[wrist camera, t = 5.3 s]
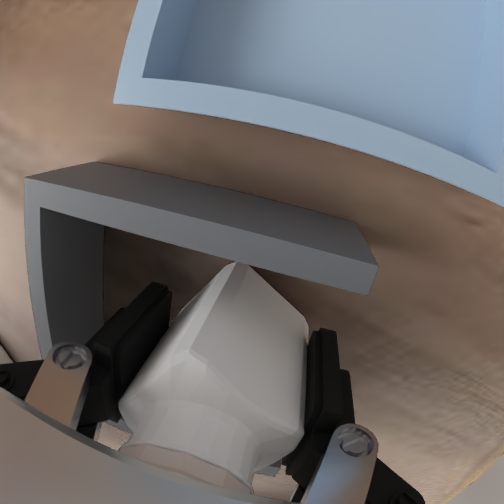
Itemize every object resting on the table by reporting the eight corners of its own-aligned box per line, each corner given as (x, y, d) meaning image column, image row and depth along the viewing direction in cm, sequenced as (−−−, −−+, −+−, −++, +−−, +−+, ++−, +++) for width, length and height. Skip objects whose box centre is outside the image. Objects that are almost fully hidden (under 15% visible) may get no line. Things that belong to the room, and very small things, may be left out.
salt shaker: (240, 248, 12) (107, 485, 3) (314, 318, 12) (304, 567, 4) (177, 311, 13) (50, 500, 5) (246, 369, 14) (186, 572, 5)
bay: (283, 410, 14) (274, 476, 11) (92, 348, 15) (51, 394, 11) (355, 222, 11) (379, 266, 7) (94, 161, 12) (24, 177, 8)
